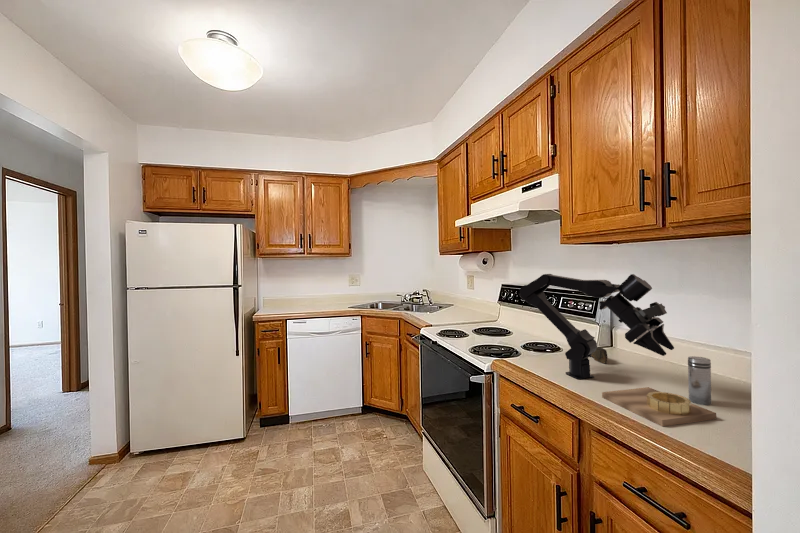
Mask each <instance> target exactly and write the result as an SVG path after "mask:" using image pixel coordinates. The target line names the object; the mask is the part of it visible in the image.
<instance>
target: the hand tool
mask: <svg viewBox="0 0 800 533" xmlns="http://www.w3.org/2000/svg"><path fill="white" fill-rule="evenodd" d="M591 357H592V358H593V359H594V361H596V362H598V363H600V364H601V363H602V364H607V363H608V350H606V349H605V348H603V347H600V346H597V349H596V351H595V352H593V353H592V355H591Z"/></svg>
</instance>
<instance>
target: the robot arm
mask: <svg viewBox="0 0 800 533" xmlns="http://www.w3.org/2000/svg"><path fill="white" fill-rule="evenodd" d="M550 286H552V287H557V288H563V289H566V290H572V291H577V292H581V293H583V294H585V295H587V296H589V297H593V298H594V299H595V298H596V299H601V298H602V299H604V298H606V299H605V300H600V301H599V310H600V311H602V310H605V309H609V310H610V312H612V313H613V314H614V315H615V316H616V317H617V318H618V322H619V323H620V324H622V323H623V324H624V325H625V326H626V327H628V328H629V330H627V331H626V332H625V333H624V338H625V339H626V341H628V342H629V343H630V344H631V343H632V344H633V345H637V346H638V347H639V346H640V347H642V348H644V349H646V350H649V351H651V352H653V353H656V354H658V355H660V356H661V357H665V356H666V355H667V352H666V351H665V349H668V350H670V351H673V350H674V349H675V347H674V345H673V343H672V341H670V339H669V337H668V336H667V335H666V333H665V331H664V327H665V324H664V321H663V319H661V318H660V317H661V316H664V315H667V314H668V312H667V310H666V306H665V305H664V304H663V303H658V302H657V301H655V302H651V303H650V304H649V307H646V308H644V309H642V308H641V307H638V306H636V307H635V306H634V305H633V304H632V303H631V302H632V301H634V302H638V301H640V299H642V298H644V296H645V295H647V294H648V293H649V292H650V291H651V290H652V289H653V288H652V286H651V285H650V284H649V282H647V280H644V279H642V278H641V277H640V276H637V275H636V274H634V273H630V275H629V276H628V277H627V278H626V279H625V280H624V281H623V282H622V283H620V284H616V283H615V284H614V283H612V282H611V281H610V280H607V279H580V278H574V277H568V276H562V275H555V274H552V273H545V274H543V273H542V274H541V275H540V276H539V277H538V278H536V279H535V280H533V281H531V282H529V283H528V284H524V285H522V286H521V287H520V289H519V294H518V296H519V297H520V298H521V299H522V300H523V301H525V302H526V303H527V304H529V305H531V306H533V307H535V308H537V310H539V311H540V313H542V315H544V316H545V318H547V320H548V321H549V322H550V323H551V324H552V325H554V327H556V329H557V330H558V331H560V333H561V334H562V335H563V336H564V337H565V340H566V342H567V345H568V346H569V347H570V349H568V350H566V351H565V352H564V354H565V355H564V356H565V358H566V360H568V364H569V366H568V368H569V371H566V372H565V374H566V375H568V376H570V377H572V378H574V379H576V380H580V379H581V380H583V379H590V378H591V379H592V378H595V377H594V375H593V374H591V365H590V359H589V358H591V357H592V356H591V355H592V353H593V352H595V351H596V349H597V347H598V343H597V341H596V340H595V338H596V337H595V336H593V335H591V333H590V332H589V331H588V330H587V329H582V330H580V329H578V328H576V327H575V326H574V325H573V324H572V323H571V322H570V321H569V320H568V319H567V318H566V317H565V316H564V314H563V313H561V312H560V311H559V310H558V308H555V306H554V305H553V303H552V302H550V301H549V300H548V298H547V296H546V294H545V291H546V290H547V289H548V288H549V287H550ZM614 293H616V294H615V295H612V294H614ZM635 340H636V341H635ZM663 347H664V348H665V349H664V348H663Z"/></svg>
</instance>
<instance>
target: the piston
mask: <svg viewBox="0 0 800 533" xmlns="http://www.w3.org/2000/svg"><path fill="white" fill-rule="evenodd" d="M711 365H712V363H711V359H710V358H708V357H703V356H695V355H694V356H688V357H687V371H688V372H687V373H688V374H687V375H688V380H687V381H688V399H689V400H690V401H691V403H692V404H695V405H701V406H711V405H712V366H711Z"/></svg>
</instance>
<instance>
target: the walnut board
mask: <svg viewBox="0 0 800 533" xmlns="http://www.w3.org/2000/svg"><path fill="white" fill-rule="evenodd" d="M650 392H661V391H659V390H657V389H655V388H652V387H647V386H646V387H637V388H630V389H629V388H627V389H620V390H612V391H611V390H609V391H602V392H601V398H603V399H605V400H607V401H609V402H610V403H613V404H615V405H617V406H619V407H621V408H624V409H625V410H627V411H630V412H632V413H634V414H636V415H638V416H639V417H642V418H645V419H646V420H648V421H650V422H653V423H655V424H657V425H658V426H661V427H669V426H675V425H682V424H690V423H697V422H703V421H705V422H706V421H711V420H717V412H715V411H713V410H710V409H707V408H705V407H702V406H699V405H698V404H695V403H691V412H690V414H686V415H674V414H667V413H663V412H659V411H657V410H654V409H652V408H650V407H649V406H648V405H647V394H648V393H650Z"/></svg>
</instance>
